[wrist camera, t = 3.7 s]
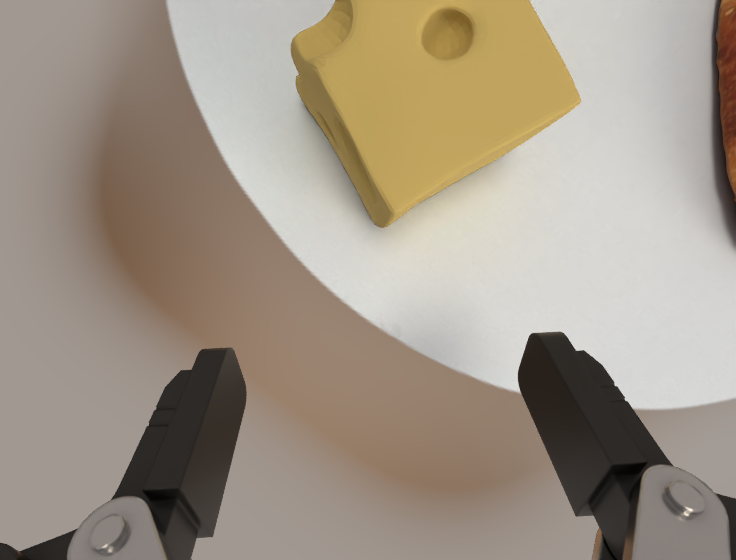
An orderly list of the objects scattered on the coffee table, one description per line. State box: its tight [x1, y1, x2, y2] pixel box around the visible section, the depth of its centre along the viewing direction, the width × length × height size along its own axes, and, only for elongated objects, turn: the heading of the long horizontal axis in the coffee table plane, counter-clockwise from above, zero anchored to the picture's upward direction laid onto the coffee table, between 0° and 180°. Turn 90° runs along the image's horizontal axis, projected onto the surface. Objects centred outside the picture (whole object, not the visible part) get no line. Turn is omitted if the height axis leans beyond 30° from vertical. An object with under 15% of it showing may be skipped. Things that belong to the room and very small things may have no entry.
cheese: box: [291, 0, 581, 228], centre depth 21 cm, size 10×11×10 cm
